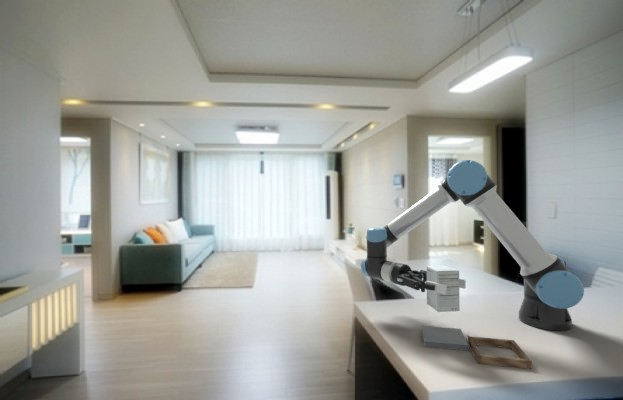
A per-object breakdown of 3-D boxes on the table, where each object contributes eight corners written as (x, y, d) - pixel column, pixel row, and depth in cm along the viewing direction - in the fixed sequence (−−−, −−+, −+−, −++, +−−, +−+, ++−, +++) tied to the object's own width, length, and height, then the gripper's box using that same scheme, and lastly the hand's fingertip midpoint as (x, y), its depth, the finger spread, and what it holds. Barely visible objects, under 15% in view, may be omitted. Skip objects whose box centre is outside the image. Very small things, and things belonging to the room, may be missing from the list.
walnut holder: (513, 346, 94) (513, 340, 94) (531, 368, 82) (531, 361, 82) (467, 342, 97) (467, 336, 97) (478, 363, 85) (477, 355, 85)
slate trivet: (460, 333, 104) (460, 328, 104) (468, 350, 92) (468, 345, 92) (422, 330, 107) (422, 325, 107) (425, 346, 95) (425, 341, 95)
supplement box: (426, 304, 103) (425, 265, 103) (448, 303, 103) (447, 264, 103) (437, 312, 95) (436, 270, 95) (460, 311, 96) (460, 269, 96)
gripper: (416, 278, 120) (475, 292, 102) (375, 289, 108) (434, 307, 89) (416, 259, 120) (474, 269, 102) (375, 267, 108) (433, 280, 89)
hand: (455, 286), depth 96 cm, fingers closed on supplement box, 10 cm apart
